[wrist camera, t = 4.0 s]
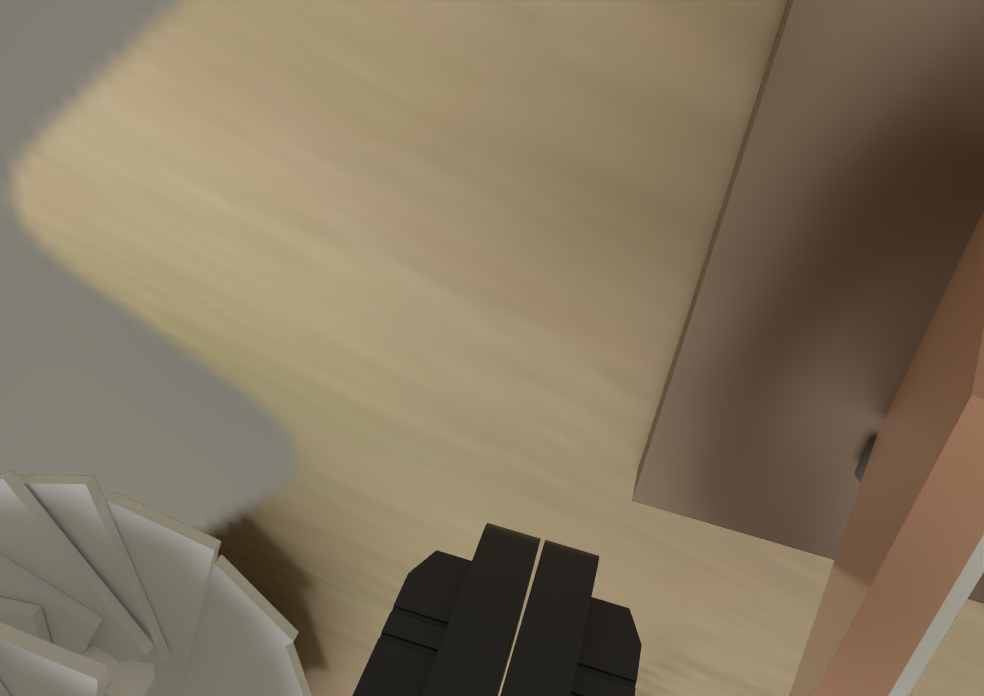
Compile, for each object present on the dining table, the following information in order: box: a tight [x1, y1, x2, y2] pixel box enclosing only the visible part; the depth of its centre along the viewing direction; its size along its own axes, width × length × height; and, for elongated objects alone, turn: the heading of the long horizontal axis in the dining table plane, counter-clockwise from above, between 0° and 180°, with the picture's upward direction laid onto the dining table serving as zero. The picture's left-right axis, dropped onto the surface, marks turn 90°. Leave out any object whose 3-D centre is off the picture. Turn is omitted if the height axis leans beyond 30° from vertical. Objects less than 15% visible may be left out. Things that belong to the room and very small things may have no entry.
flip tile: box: [789, 211, 984, 696], centre depth 17 cm, size 13×8×1 cm
